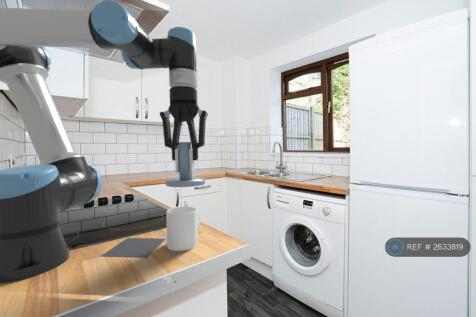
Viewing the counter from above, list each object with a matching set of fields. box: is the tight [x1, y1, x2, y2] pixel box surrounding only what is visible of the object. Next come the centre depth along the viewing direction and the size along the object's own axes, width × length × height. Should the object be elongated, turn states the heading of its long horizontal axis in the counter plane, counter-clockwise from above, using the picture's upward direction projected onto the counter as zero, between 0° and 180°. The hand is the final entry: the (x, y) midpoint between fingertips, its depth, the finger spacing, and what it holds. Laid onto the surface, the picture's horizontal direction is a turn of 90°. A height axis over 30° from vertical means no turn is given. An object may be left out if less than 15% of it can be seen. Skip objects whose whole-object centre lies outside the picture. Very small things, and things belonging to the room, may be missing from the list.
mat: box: [101, 237, 166, 259], centre depth 63 cm, size 12×12×1 cm
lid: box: [164, 141, 206, 188], centre depth 65 cm, size 11×11×12 cm
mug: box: [165, 206, 201, 252], centre depth 66 cm, size 12×8×10 cm
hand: (185, 171), depth 65 cm, fingers closed on lid, 3 cm apart
